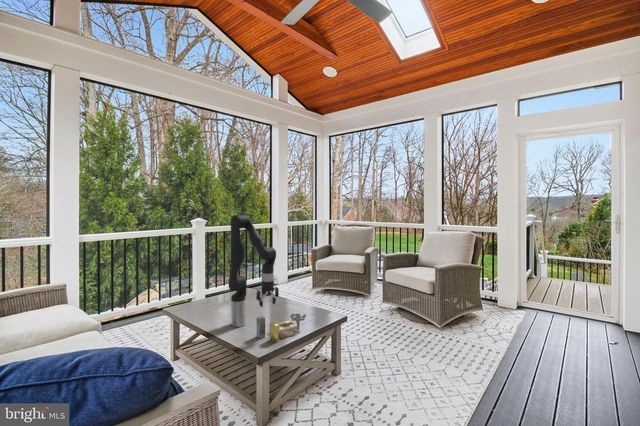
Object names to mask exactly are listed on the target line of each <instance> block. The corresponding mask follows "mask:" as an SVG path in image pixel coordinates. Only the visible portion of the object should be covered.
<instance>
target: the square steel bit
mask: <svg viewBox="0 0 640 426" xmlns="http://www.w3.org/2000/svg"><path fill="white" fill-rule="evenodd" d="M256 338H258V339H264V338H266V317H264V316H258V317H256Z"/></svg>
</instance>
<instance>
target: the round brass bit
mask: <svg viewBox="0 0 640 426" xmlns="http://www.w3.org/2000/svg"><path fill="white" fill-rule="evenodd" d="M280 341H281V339H280V323H279V322H277V321H274V322H271V323H269V342H270V343H278V342H280Z"/></svg>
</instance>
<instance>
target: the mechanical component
mask: <svg viewBox="0 0 640 426" xmlns="http://www.w3.org/2000/svg"><path fill="white" fill-rule="evenodd" d="M289 317H290V318H291V322H296V326H297V331H298V330H300V323H301V321H305V319H306V318H307V314H305V313H303V315H301V313H291V314H290V316H289Z"/></svg>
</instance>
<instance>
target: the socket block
mask: <svg viewBox="0 0 640 426" xmlns="http://www.w3.org/2000/svg"><path fill="white" fill-rule="evenodd" d="M278 323H280V340H281V339H284V338H288V337H290V336H291V337H292V336H294V335H295V336H296V335H297V334H298V330H297V324H295V323H294V322H293V321H290V320H289V319H288V320H284V321H279V322H278Z"/></svg>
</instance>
